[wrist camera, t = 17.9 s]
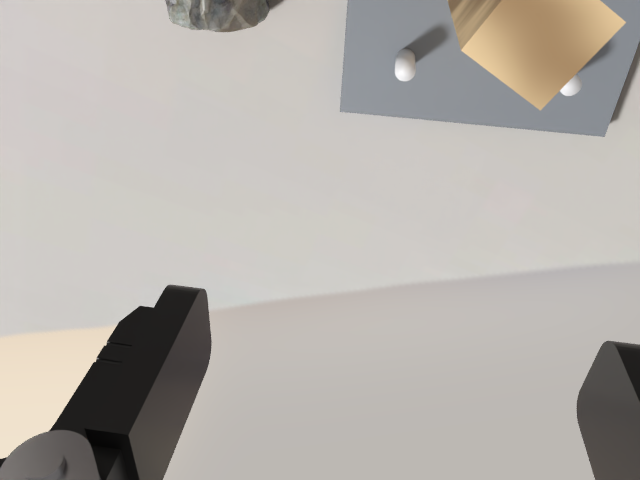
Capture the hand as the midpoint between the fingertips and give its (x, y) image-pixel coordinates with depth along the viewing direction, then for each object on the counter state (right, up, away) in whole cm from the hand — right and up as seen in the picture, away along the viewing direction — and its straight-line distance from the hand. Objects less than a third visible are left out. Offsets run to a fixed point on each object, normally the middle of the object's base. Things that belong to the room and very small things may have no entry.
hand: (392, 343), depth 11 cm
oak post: (+10, +19, +25) cm, 33 cm away
